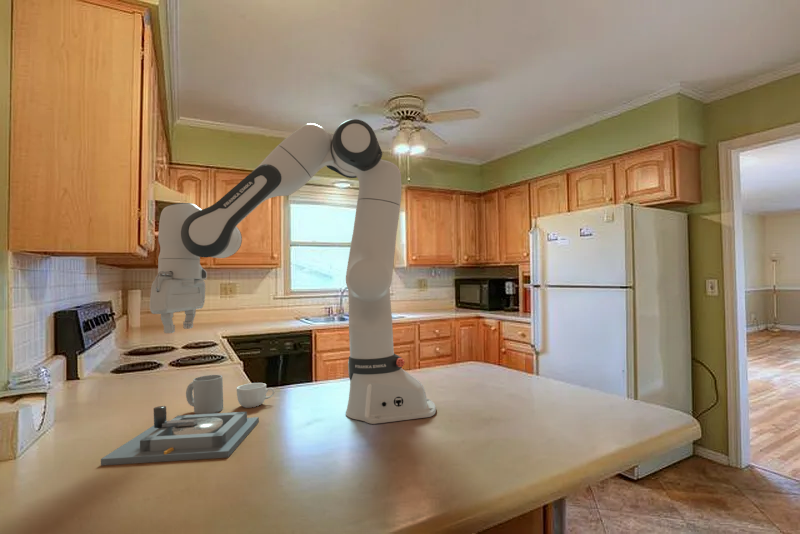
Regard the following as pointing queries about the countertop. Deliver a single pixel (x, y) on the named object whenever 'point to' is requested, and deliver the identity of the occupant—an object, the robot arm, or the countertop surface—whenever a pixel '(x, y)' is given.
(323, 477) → the countertop surface
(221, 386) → the cup
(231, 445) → the panel
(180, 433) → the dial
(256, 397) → the teacup
